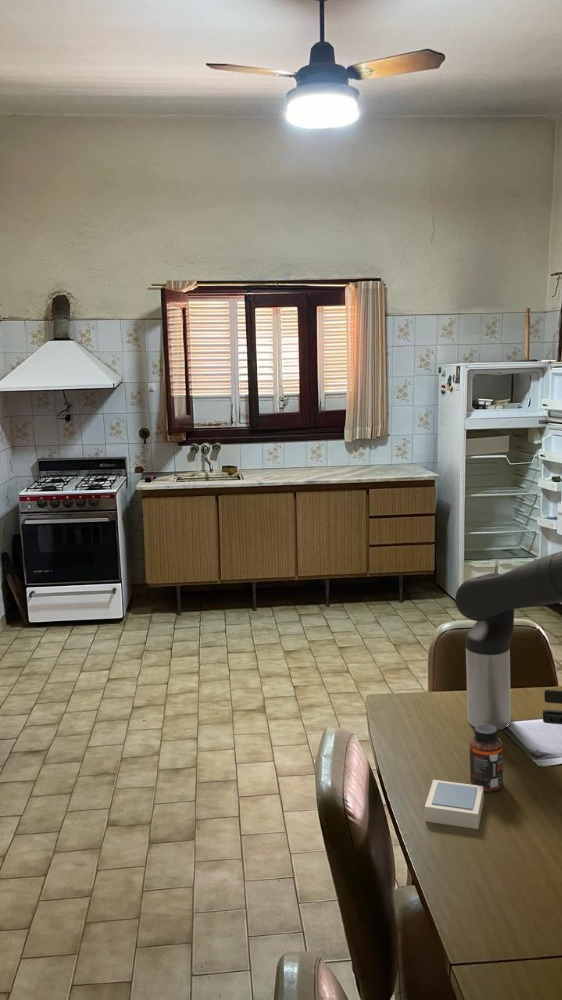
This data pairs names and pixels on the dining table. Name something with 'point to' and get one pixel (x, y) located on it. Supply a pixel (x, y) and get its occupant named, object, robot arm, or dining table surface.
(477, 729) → the supplement bottle
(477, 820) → the plinth
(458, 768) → the dining table surface
